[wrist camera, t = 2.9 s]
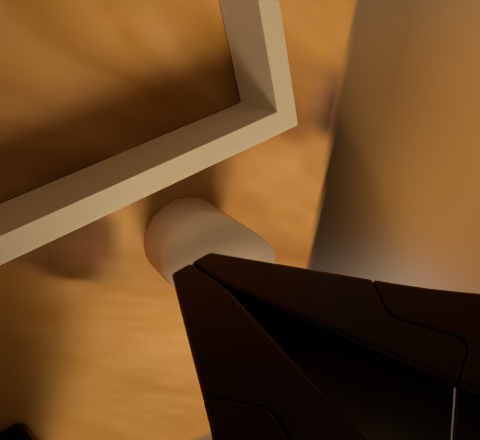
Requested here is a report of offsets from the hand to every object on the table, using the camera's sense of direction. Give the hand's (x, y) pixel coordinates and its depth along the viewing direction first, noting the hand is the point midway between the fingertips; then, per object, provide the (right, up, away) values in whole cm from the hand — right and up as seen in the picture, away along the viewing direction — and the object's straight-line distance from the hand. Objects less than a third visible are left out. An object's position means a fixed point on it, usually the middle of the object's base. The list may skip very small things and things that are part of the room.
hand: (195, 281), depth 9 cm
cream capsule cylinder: (-2, 0, +15) cm, 15 cm away
